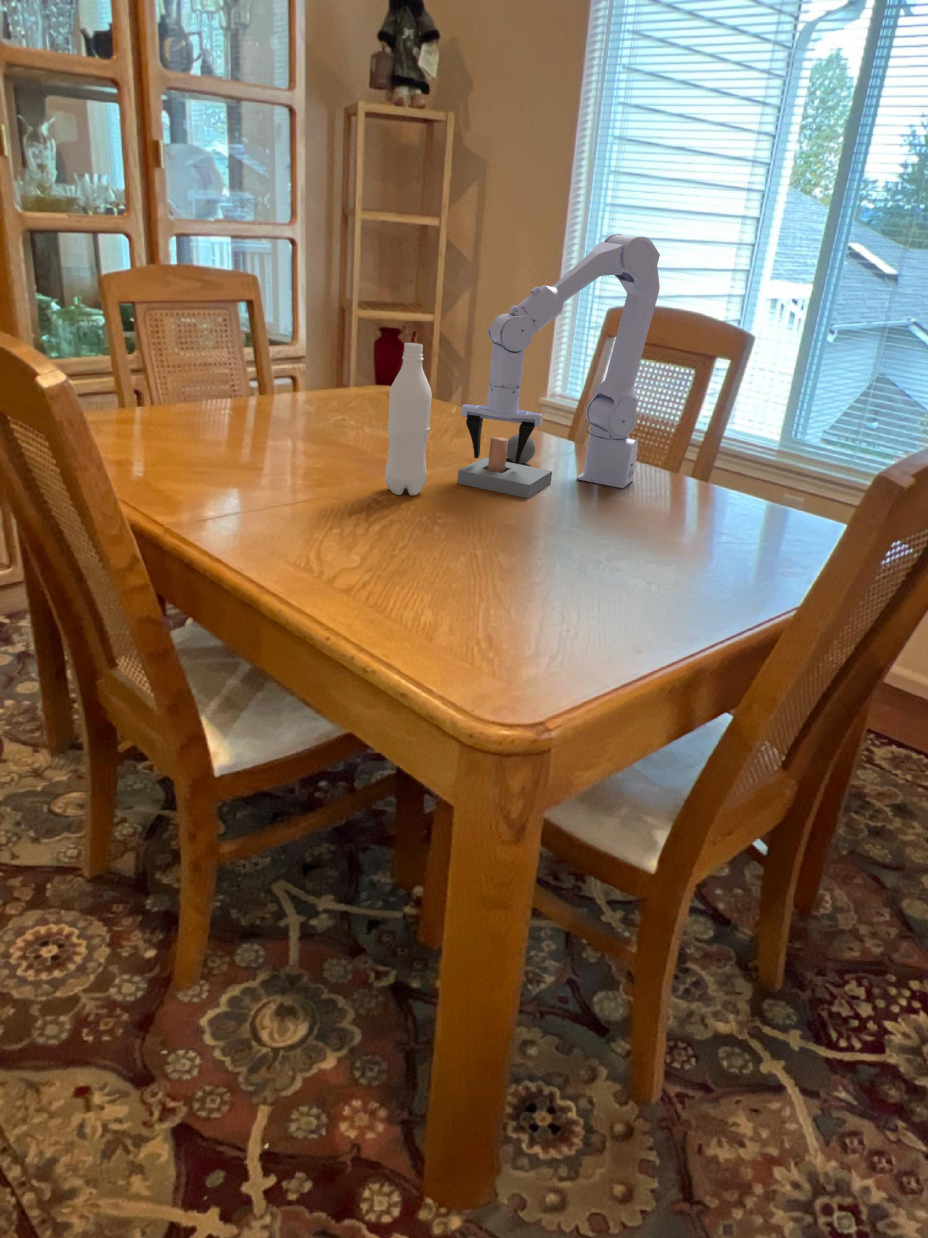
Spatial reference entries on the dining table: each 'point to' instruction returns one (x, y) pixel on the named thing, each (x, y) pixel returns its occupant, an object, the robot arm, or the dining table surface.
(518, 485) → the socket board
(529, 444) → the light bulb
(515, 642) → the dining table surface
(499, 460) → the peg
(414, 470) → the water bottle
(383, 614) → the dining table surface
